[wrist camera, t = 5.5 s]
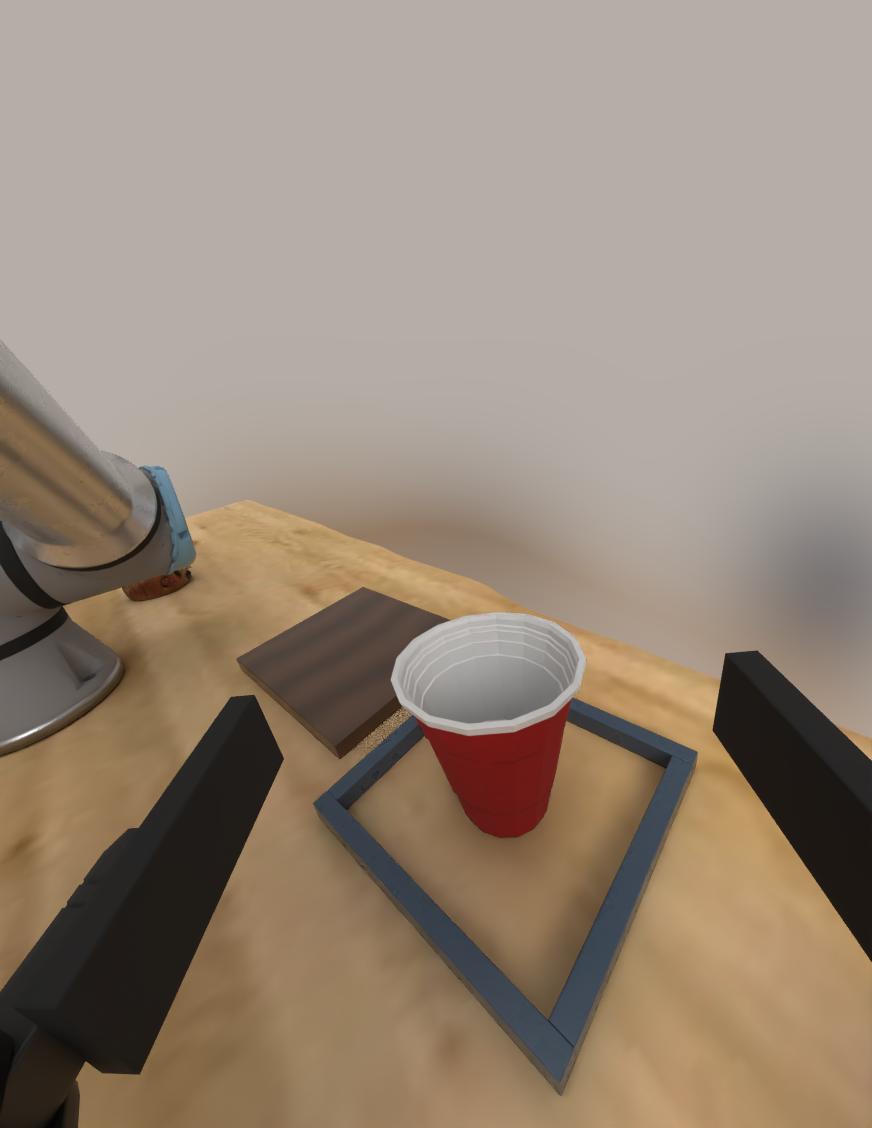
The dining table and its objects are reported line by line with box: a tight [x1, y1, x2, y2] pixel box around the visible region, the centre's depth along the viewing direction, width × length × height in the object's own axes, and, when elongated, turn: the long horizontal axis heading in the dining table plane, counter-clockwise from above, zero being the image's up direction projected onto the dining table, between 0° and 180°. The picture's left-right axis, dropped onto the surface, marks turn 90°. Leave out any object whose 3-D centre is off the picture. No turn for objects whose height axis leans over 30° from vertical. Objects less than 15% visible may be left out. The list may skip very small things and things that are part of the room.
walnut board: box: [237, 587, 451, 759], centre depth 45 cm, size 20×18×2 cm
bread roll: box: [122, 566, 192, 601], centre depth 72 cm, size 10×10×8 cm
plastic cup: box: [391, 612, 587, 838], centre depth 26 cm, size 11×11×12 cm
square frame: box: [313, 698, 698, 1095], centre depth 28 cm, size 18×18×2 cm
